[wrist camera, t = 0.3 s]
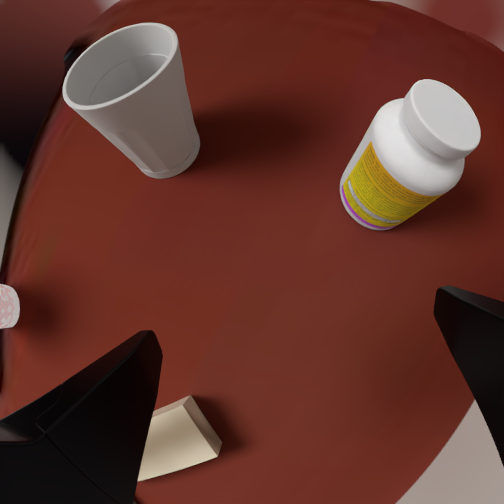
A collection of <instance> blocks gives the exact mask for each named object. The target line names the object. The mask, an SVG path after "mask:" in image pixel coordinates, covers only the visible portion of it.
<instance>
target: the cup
mask: <svg viewBox="0 0 504 504" xmlns="http://www.w3.org/2000/svg"><path fill="white" fill-rule="evenodd" d="M63 97H64V99H65V101H66V103H67V104H68V105H69V106H70V107H71V108H73V109H74V110H75V111H76V112H77V113H78V114H79V115H81V116H82V117H83V118H84V119H85V120H86V121H88V122H89V123H90V124H91V125H92V126H93V127H95V128H96V129H97V130H98V131H99V132H101V133H102V134H103V135H104V136H105V137H106V138H107V139H108V140H109V141H110V142H112V143H113V144H114V145H115V146H116V147H117V148H118V149H119V150H120V151H122V152H123V153H124V154H125V155H126V156H127V157H128V158H129V159H131V160H132V161H133V162H134V163H135V164H136V165H137V166H138V167H139V169H140V170H141V171H142V172H143V173H144V174H146V175H148V176H150V177H153V178H159V179H162V178H169V177H173V176H175V175H178V174H180V173H181V172H183V171H184V170H186V169H187V168H188V167H189V166H190V165H191V164H192V163H193V161H194V160H195V158H196V157H197V155H198V152H199V148H200V138H199V135H198V132H197V129H196V127H195V124H194V120H193V115H192V111H191V106H190V102H189V98H188V93H187V89H186V84H185V79H184V70H183V64H182V59H181V53H180V48H179V42H178V37H177V35H176V33H175V32H174V31H173V30H172V29H171V28H170V27H168V26H166V25H163V24H159V23H140V24H135V25H131V26H127V27H124V28H121V29H119V30H116V31H114V32H112V33H110V34H108V35H106V36H105V37H103V38H101V39H100V40H98V41H97V42H95V43H94V44H93V45H91V46H90V47H89V48H88V49H87V50H86V51H84V52H83V53H82V54H81V55H80V57H79V58H78V59H77V60H76V61H75V63H74V64H73V65H72V67H71V68H70V70H69V72H68V74H67V76H66V78H65V81H64V85H63Z"/></svg>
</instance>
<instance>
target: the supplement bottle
mask: <svg viewBox="0 0 504 504" xmlns="http://www.w3.org/2000/svg"><path fill="white" fill-rule="evenodd" d="M480 136H481V134H480V126H479V123H478V120H477V118H476V116H475V114H474V112H473V110H472V109H471V107H470V106H469V105H468V103H467V102H466V101H465V100H464V99H463V98H462V97H461V96H460V95H459V94H458V93H457V92H456V91H454V90H453V89H452V88H450V87H449V86H447V85H445V84H443V83H441V82H438V81H435V80H430V79H424V80H420V81H418V82H416V83H415V84H414V85H413V86H412V88H411V89H410V91H409V92H408V93H407V95H406V96H405V98H402V99H396V100H393V101H390V102H388V103H387V104H385V105H384V106H382V107H381V108H380V110H379V111H378V112H377V114H376V116H375V117H374V119H373V121H372V123H371V124H370V126H369V128H368V130H367V132H366V134H365V136H364V137H363V139H362V141H361V143H360V145H359V146H358V148H357V150H356V152H355V153H354V155H353V157H352V159H351V160H350V162H349V164H348V166H347V167H346V169H345V171H344V173H343V175H342V178H341V182H340V195H341V199H342V202H343V204H344V207H345V208H346V210H347V212H348V213H349V214H350V216H351V217H352V218H353V219H354V220H356V221H357V222H358V223H359V224H361V225H363V226H365V227H367V228H370V229H374V230H387V229H391V228H394V227H396V226H397V225H399V224H401V223H402V222H404V221H405V220H407V219H408V218H410V217H411V216H413V215H414V214H415V213H417V212H418V211H420V210H421V209H423V208H424V207H426V206H427V205H429V204H430V203H432V202H433V201H434V200H436V199H437V198H439V197H440V196H442V195H443V194H445V193H446V192H448V191H449V190H450V189H452V188H453V187H454V186H455V185H456V184H457V182H458V181H459V179H460V178H461V175H462V173H463V169H464V157H466V156H467V155H468V154H469V153H471V152H472V151H473V150H474V149H475V148H476V147H477V146H478V144H479V141H480Z"/></svg>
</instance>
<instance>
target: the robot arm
mask: <svg viewBox="0 0 504 504" xmlns="http://www.w3.org/2000/svg"><path fill="white" fill-rule="evenodd" d="M434 316H435V319H436V321H437V323H438V325H439V327H440V330H441V332H442V334H443V336H444V338H445V341H446V343H447V345H448V348H449V350H450V352H451V354H452V356H453V358H454V359H455V361H456V363H457V365H458V367H459V368H460V370H461V372H462V374H463V376H464V378H465V380H466V382H467V384H468V386H469V388H470V390H471V392H472V394H473V396H474V398H475V400H476V402H477V404H478V406H479V408H480V410H481V412H482V414H483V416H484V419H485V421H486V423H487V426H488V428H489V430H490V433H491V435H492V437H493V440H494V442H495V445H496V447H497V450H498V452H499V455H500V458H501V461H502V464H503V466H504V302H502V301H499V300H496V299H493V298H489V297H486V296H483V295H479V294H476V293H473V292H470V291H466V290H463V289H460V288H456V287H453V286H449V285H447V286H443V287H439V288H438V289H437V292H436V298H435V304H434ZM162 358H163V355H162V350H161V347H160V345H159V342H158V340H157V337H156V335H155V333H154V332H153V331H152V330H144V331H140V332H138V333H137V334H135V335H134V336H132V337H131V338H129V339H128V340H126V341H125V342H123V343H122V344H120V345H119V346H117V347H116V348H114V349H113V350H111V351H110V352H108V353H107V354H105V355H104V356H102V357H101V358H99V359H98V360H96V361H95V362H93V363H92V364H90V365H89V366H87V367H86V368H84V369H83V370H81V371H80V372H78V373H77V374H75V375H74V376H72V377H71V378H69V379H68V380H66V381H65V382H63V384H60V385H59V386H57V387H56V388H54V389H53V390H51V391H49V392H48V393H46V394H45V395H43V396H42V397H40V398H38V399H37V400H35V401H33V402H31V403H30V404H28V405H26V406H24V407H23V408H21V409H19V410H17V411H15V412H14V413H12V414H10V415H8V416H6V417H5V418H3V419H1V420H0V504H133V502H134V496H135V491H136V486H137V481H138V477H139V472H140V467H141V462H142V458H143V453H144V449H145V445H146V440H147V436H148V432H149V428H150V423H151V419H152V415H153V411H154V407H155V403H156V399H157V394H158V387H159V379H160V372H161V365H162Z"/></svg>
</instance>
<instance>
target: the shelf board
mask: <svg viewBox="0 0 504 504" xmlns="http://www.w3.org/2000/svg"><path fill="white" fill-rule="evenodd" d="M221 445H222V441H221V440H220V439H219V437H218V436H217V434H216V433H215V431H214V430H213V428H212V427H211V425H210V424H209V423H208V421H207V420H206V418H205V417H204V415H203V413H202V412H201V410H200V409H199V407H198V406H197V404H196V403H195V401H194V399H193V398H192V396H191V395H190V396H187V397H185V398H183V399H181V400H179V401H176V402H174V403H172V404H170V405H167V406H165V407H163V408H160V409H158V410H155V411H153V415H152V419H151V423H150V428H149V432H148V436H147V440H146V445H145V449H144V453H143V458H142V462H141V467H140V472H139V477H138V481H141V480H145V479H149V478H153V477H157V476H160V475H164V474H167V473H171V472H174V471H177V470H181V469H184V468H187V467H190V466H193V465H196V464H199V463H202V462H204V461H207V460H210V459H213V458H215V457H218V454H219V451H220V448H221Z"/></svg>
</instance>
